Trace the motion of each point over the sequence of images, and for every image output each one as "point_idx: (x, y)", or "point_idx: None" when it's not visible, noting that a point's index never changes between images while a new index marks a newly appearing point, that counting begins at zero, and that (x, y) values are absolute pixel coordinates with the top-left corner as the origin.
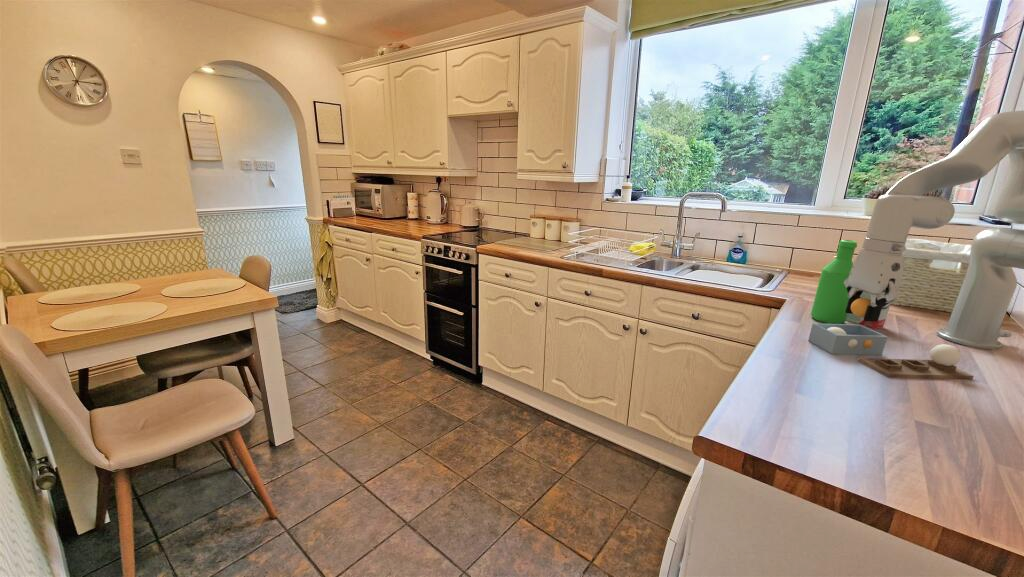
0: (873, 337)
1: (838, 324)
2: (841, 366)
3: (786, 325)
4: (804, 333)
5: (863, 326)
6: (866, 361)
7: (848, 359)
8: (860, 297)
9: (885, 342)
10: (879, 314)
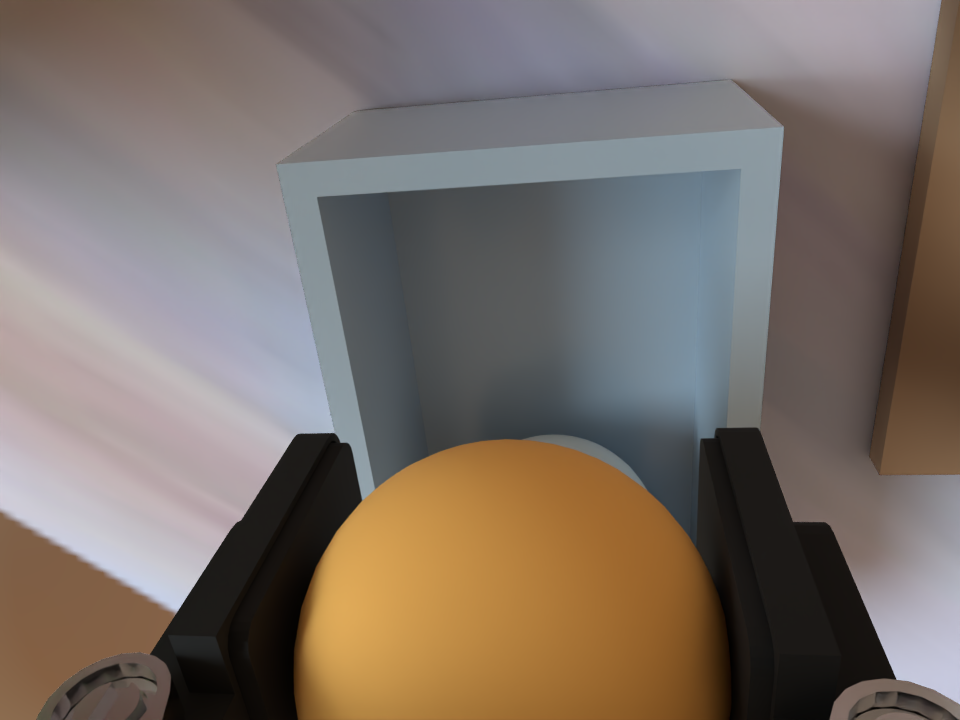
0: (761, 329)
1: (358, 469)
2: (949, 643)
3: (76, 512)
4: (247, 482)
5: (354, 173)
6: (957, 463)
7: (825, 507)
8: (177, 702)
9: (761, 112)
10: (787, 512)
